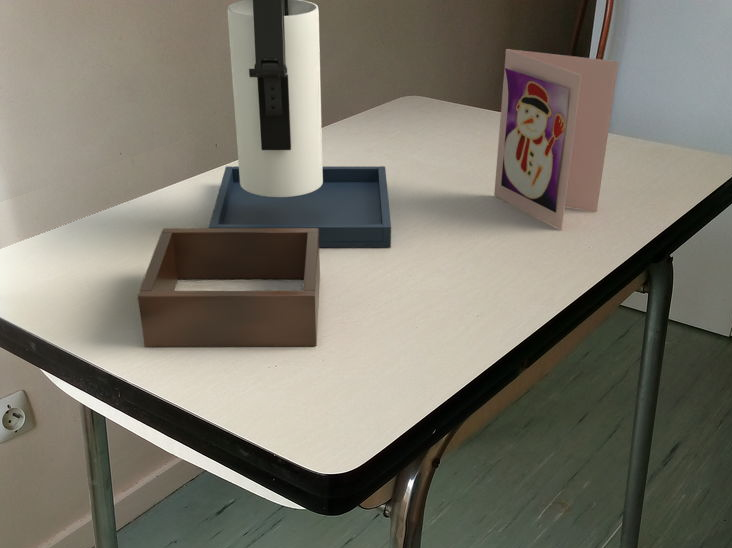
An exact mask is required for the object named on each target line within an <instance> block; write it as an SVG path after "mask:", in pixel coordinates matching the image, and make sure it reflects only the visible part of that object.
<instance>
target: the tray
mask: <svg viewBox="0 0 732 548" xmlns="http://www.w3.org/2000/svg"><path fill="white" fill-rule="evenodd" d="M322 169H323V184H322V185H321V187H320V188H318V189H317V190H315V191H313V192H310V193H307V194H304V195H299V196H292V197H267V196H260V195H256V194H253V193H250V192H247V191H246V190H244V189H243V188H242V187H241V185H240V176H239V165H237V166H234V165H233V166H227V165H226V166H225V169H224V172H223V176H222V179H221V182H220V186H219V189H218V193H217V197H216V200H215V203H214V207H213V211H212V215H211V218H210V221H209V224H208V228H318V229H319V249H321V248H326V249H327V248H333V249H334V248H335V249H336V248H337V249H338V248H340V249H341V248H344V249H345V248H353V249H354V248H356V249H357V248H391V247H392V222H391V212H390V203H389V191H388V182H387V171H386V166H381V165H380V166H374V165H373V166H372V165H371V166H365V165H363V166H362V165H361V166H360V165H359V166H357V165H355V166H352V165H351V166H350V165H349V166H348V165H347V166H345V165H344V166H343V165H342V166H340V165H339V166H337V165H336V166H328V165H327V166H324V165H322Z"/></svg>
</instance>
